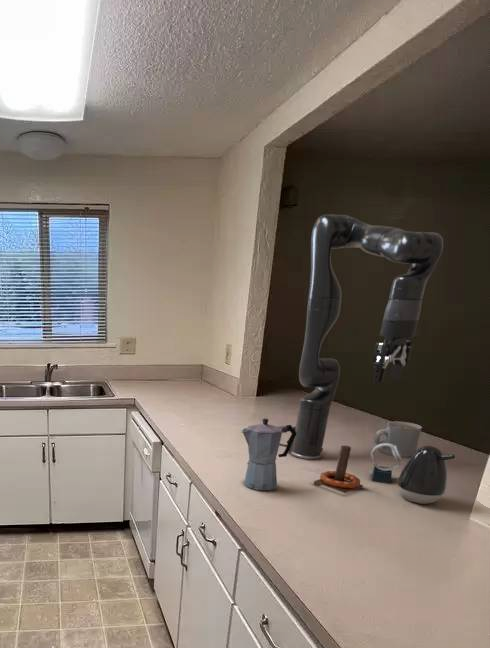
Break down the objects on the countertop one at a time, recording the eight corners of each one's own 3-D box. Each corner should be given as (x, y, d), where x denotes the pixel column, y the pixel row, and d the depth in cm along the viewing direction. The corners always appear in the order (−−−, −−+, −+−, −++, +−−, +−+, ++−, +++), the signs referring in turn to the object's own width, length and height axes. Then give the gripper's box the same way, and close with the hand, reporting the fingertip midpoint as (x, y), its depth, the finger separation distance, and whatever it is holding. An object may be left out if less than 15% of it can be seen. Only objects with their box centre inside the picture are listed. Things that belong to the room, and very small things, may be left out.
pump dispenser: (428, 511, 110) (445, 455, 105) (386, 496, 119) (399, 443, 114) (449, 503, 115) (466, 449, 109) (407, 489, 123) (421, 438, 118)
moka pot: (229, 479, 131) (236, 415, 124) (278, 477, 132) (288, 413, 125) (242, 492, 122) (251, 423, 115) (295, 490, 123) (307, 422, 116)
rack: (313, 484, 127) (321, 445, 123) (332, 478, 131) (339, 440, 127) (343, 495, 119) (352, 454, 115) (362, 489, 124) (371, 448, 119)
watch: (397, 484, 126) (406, 449, 123) (365, 479, 130) (373, 444, 127) (396, 478, 131) (405, 444, 127) (365, 473, 135) (373, 439, 131)
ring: (312, 479, 127) (313, 474, 127) (333, 473, 132) (334, 468, 131) (345, 491, 119) (346, 485, 118) (366, 484, 123) (368, 479, 123)
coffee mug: (408, 449, 157) (415, 422, 153) (419, 458, 148) (427, 429, 145) (366, 446, 161) (372, 419, 157) (374, 454, 152) (381, 426, 148)
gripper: (399, 317, 118) (385, 377, 124) (370, 318, 112) (357, 381, 117) (431, 318, 112) (415, 380, 118) (402, 319, 106) (386, 385, 111)
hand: (386, 381), depth 117 cm, fingers open, 8 cm apart
